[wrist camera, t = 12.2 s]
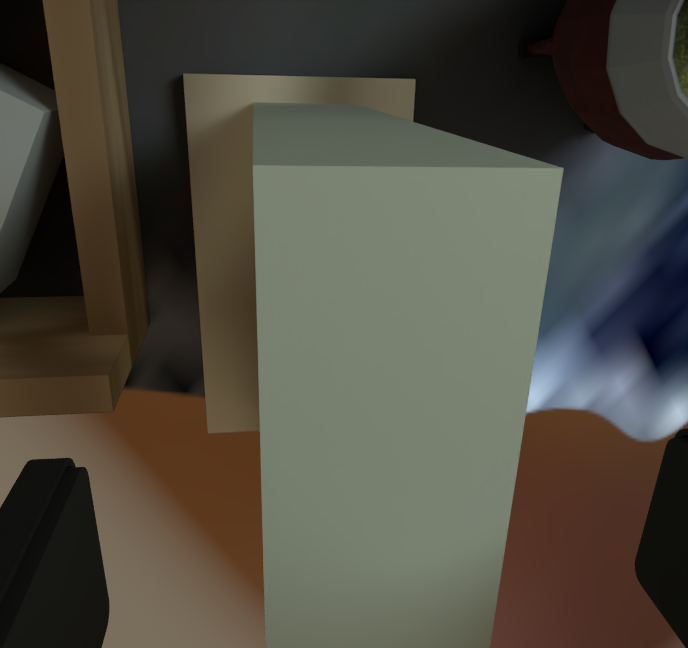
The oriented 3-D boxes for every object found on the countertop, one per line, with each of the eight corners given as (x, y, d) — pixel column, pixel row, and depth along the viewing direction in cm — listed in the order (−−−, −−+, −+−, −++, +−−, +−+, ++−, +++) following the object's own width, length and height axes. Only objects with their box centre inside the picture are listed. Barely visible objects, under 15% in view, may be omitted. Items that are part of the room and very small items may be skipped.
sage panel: (356, 104, 22) (563, 168, 7) (346, 403, 26) (463, 817, 12) (253, 102, 22) (252, 165, 7) (261, 407, 26) (270, 843, 11)
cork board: (411, 78, 22) (415, 79, 22) (392, 417, 28) (394, 424, 27) (184, 73, 21) (183, 73, 21) (208, 426, 27) (207, 433, 26)
